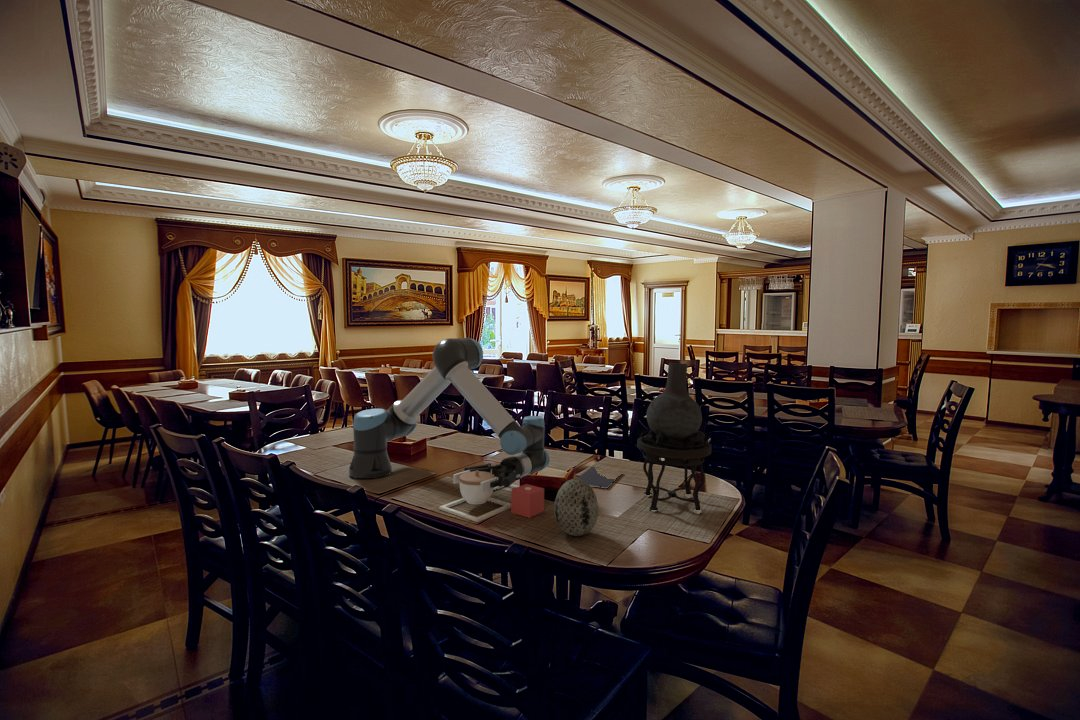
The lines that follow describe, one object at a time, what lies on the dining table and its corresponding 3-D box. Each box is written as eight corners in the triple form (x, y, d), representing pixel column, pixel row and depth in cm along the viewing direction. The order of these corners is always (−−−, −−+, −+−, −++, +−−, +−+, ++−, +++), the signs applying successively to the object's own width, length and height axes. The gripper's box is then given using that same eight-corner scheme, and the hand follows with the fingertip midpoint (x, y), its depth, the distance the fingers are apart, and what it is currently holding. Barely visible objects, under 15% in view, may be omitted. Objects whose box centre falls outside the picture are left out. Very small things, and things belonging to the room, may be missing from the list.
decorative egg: (565, 546, 125) (567, 488, 124) (546, 529, 136) (547, 475, 135) (605, 539, 130) (607, 483, 129) (584, 523, 141) (585, 471, 140)
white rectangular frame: (505, 484, 174) (505, 482, 174) (541, 494, 165) (541, 492, 165) (439, 509, 150) (439, 506, 150) (477, 522, 140) (477, 519, 140)
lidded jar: (492, 507, 146) (492, 476, 145) (455, 507, 146) (456, 475, 145) (496, 495, 156) (496, 466, 156) (462, 494, 157) (462, 465, 156)
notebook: (591, 470, 195) (572, 485, 176) (591, 466, 195) (572, 481, 176) (623, 475, 190) (606, 491, 171) (623, 471, 190) (606, 486, 170)
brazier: (630, 511, 151) (634, 363, 148) (641, 489, 172) (645, 359, 169) (708, 522, 143) (714, 366, 140) (709, 497, 164) (715, 362, 161)
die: (525, 506, 154) (526, 483, 153) (543, 511, 149) (544, 487, 149) (511, 512, 148) (511, 488, 148) (529, 518, 144) (529, 493, 143)
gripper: (542, 485, 158) (496, 504, 141) (489, 471, 172) (440, 487, 155) (543, 462, 158) (496, 478, 140) (489, 450, 172) (441, 463, 154)
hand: (467, 483), depth 147 cm, fingers closed on lidded jar, 11 cm apart
